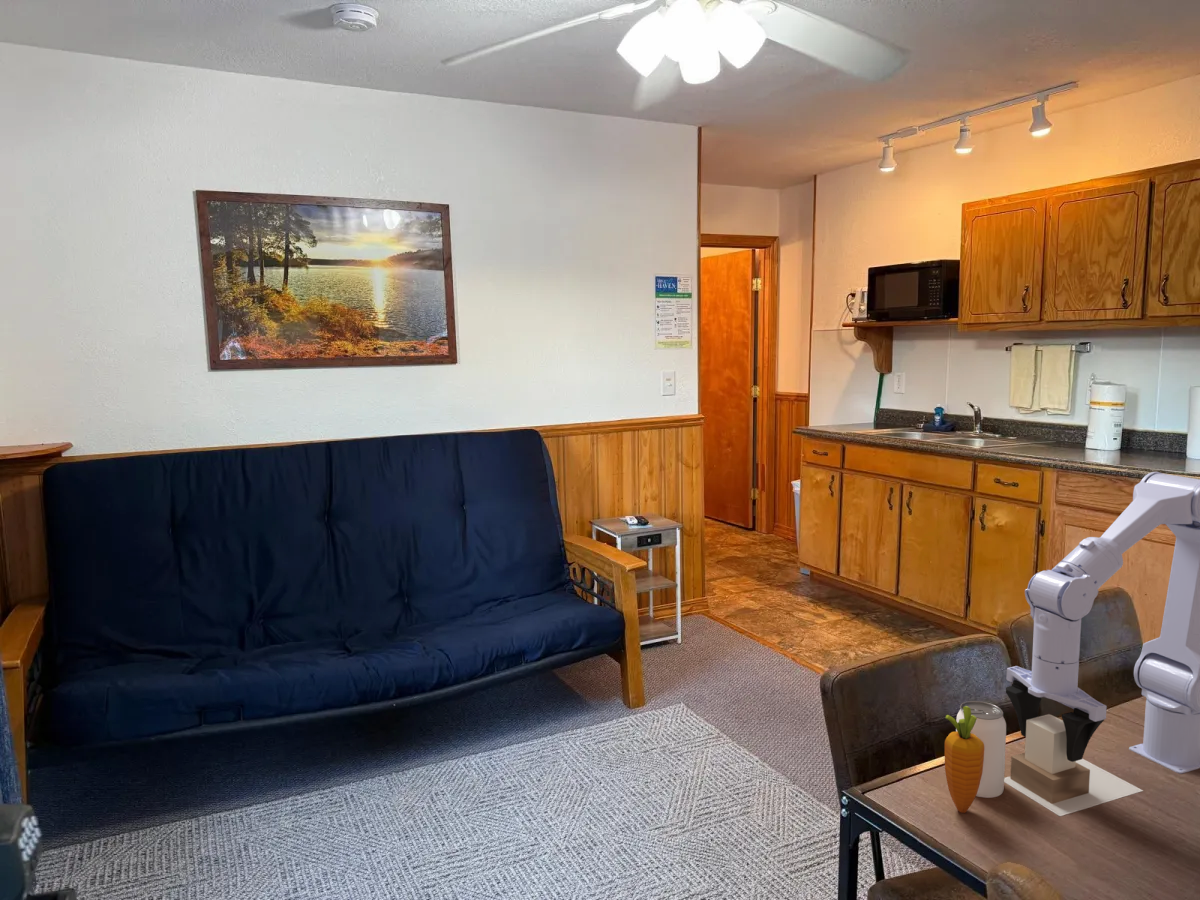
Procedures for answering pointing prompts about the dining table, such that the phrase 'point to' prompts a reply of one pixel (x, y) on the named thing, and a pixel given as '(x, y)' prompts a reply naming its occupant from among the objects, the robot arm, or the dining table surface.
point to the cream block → (1047, 744)
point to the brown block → (1050, 780)
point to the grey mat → (1100, 791)
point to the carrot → (963, 761)
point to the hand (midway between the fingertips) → (1050, 746)
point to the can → (989, 745)
